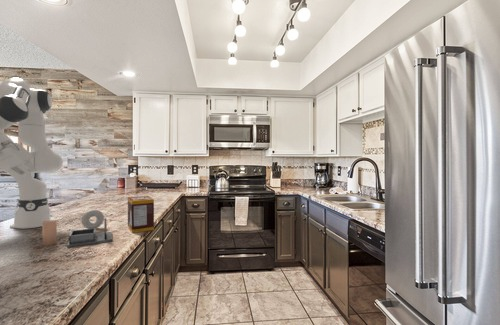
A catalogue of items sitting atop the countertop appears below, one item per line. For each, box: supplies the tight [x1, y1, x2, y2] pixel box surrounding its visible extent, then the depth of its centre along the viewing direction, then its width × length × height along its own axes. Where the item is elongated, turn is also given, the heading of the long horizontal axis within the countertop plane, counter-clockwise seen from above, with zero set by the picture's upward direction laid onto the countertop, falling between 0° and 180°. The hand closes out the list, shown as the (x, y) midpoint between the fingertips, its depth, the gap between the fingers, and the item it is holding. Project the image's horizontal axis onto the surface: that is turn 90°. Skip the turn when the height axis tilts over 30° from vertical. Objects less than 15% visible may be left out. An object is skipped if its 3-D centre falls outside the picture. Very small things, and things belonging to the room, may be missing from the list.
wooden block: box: [41, 219, 58, 247], centre depth 109 cm, size 5×5×10 cm
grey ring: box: [81, 209, 105, 229], centre depth 132 cm, size 10×4×10 cm, turn 130°
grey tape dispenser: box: [67, 217, 113, 248], centre depth 115 cm, size 13×16×8 cm
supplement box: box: [127, 195, 155, 234], centre depth 135 cm, size 10×15×16 cm
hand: (28, 172), depth 104 cm, fingers open, 8 cm apart
